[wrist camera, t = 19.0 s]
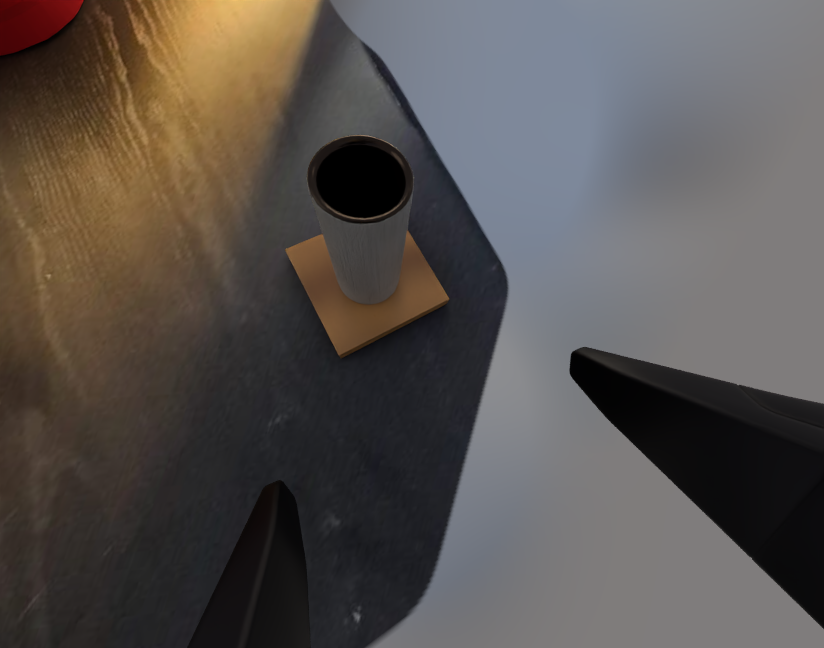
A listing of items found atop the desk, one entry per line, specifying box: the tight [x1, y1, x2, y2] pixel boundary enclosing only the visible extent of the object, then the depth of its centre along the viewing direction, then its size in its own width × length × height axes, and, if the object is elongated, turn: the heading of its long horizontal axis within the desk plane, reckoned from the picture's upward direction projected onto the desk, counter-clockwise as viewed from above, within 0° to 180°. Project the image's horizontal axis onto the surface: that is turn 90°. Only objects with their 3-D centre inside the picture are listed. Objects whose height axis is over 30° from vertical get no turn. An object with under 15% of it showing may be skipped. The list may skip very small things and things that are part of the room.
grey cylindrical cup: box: [307, 135, 414, 304], centre depth 18 cm, size 4×4×10 cm
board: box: [285, 230, 449, 358], centre depth 24 cm, size 9×9×1 cm
